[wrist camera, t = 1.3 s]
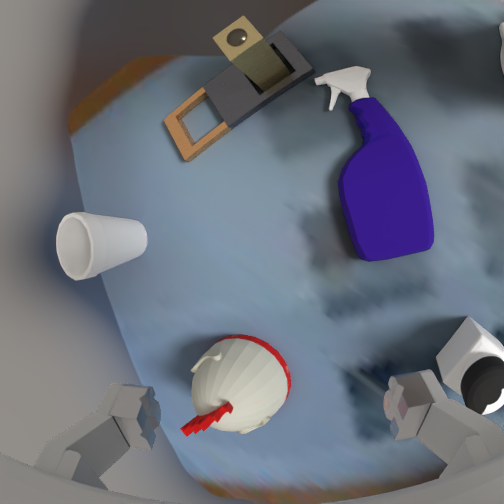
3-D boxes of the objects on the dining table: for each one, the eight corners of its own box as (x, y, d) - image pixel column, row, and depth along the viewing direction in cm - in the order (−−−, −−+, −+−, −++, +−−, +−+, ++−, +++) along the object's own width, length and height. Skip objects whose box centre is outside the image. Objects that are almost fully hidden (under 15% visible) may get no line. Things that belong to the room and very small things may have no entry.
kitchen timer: (192, 357, 51) (132, 399, 37) (253, 317, 45) (199, 360, 32) (241, 422, 49) (196, 478, 35) (308, 393, 44) (276, 458, 30)
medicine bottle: (434, 357, 36) (447, 405, 25) (467, 314, 34) (494, 351, 23) (467, 381, 34) (486, 431, 23) (500, 341, 32) (531, 382, 21)
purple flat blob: (442, 247, 32) (381, 54, 32) (354, 267, 37) (301, 77, 36) (437, 245, 35) (382, 64, 35) (355, 263, 39) (306, 85, 39)
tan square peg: (274, 53, 39) (242, 14, 29) (291, 74, 39) (263, 37, 29) (249, 70, 41) (211, 37, 31) (265, 92, 41) (229, 60, 30)
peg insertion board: (283, 35, 38) (280, 30, 37) (315, 72, 38) (312, 68, 36) (169, 121, 47) (163, 120, 45) (190, 161, 46) (184, 160, 45)
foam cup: (159, 218, 49) (97, 222, 37) (150, 273, 51) (91, 290, 40) (119, 205, 52) (59, 207, 41) (111, 255, 55) (54, 266, 43)
